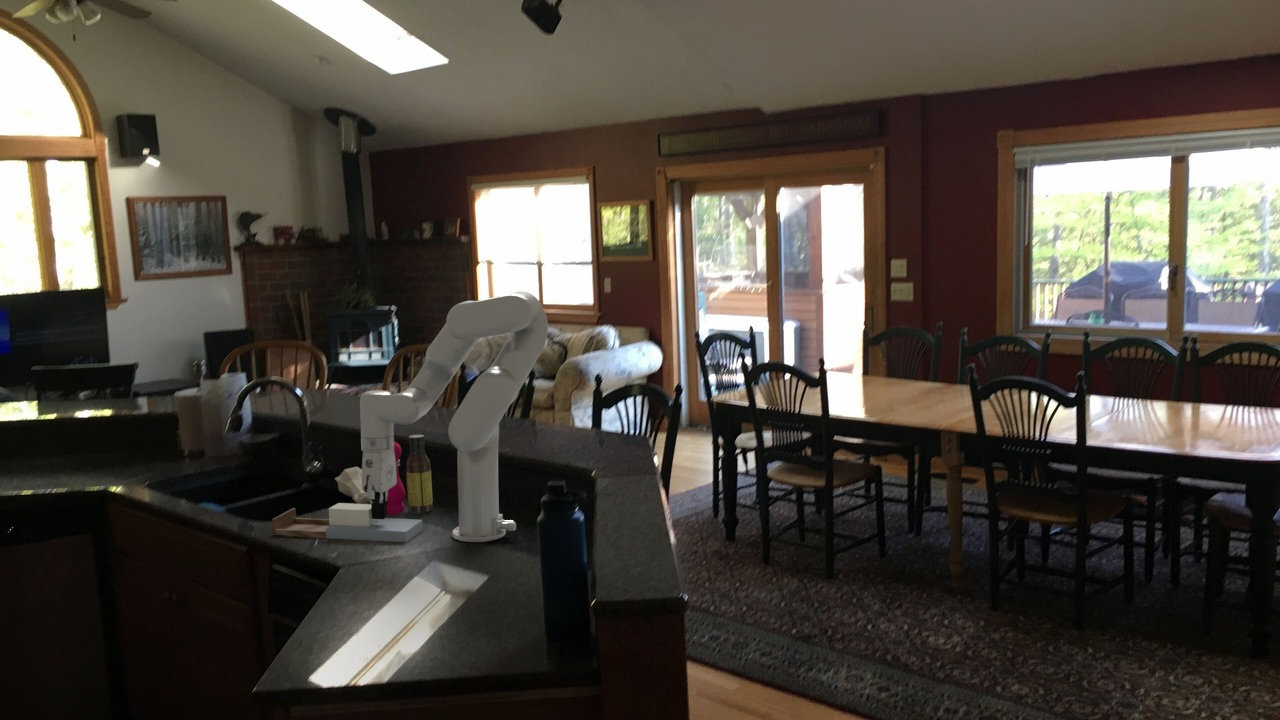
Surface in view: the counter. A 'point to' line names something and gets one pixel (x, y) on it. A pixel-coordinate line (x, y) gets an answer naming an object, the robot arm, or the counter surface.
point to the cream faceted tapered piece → (352, 485)
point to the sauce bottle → (418, 477)
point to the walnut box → (299, 525)
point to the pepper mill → (396, 488)
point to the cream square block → (340, 514)
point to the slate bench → (378, 530)
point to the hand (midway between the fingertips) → (379, 518)
